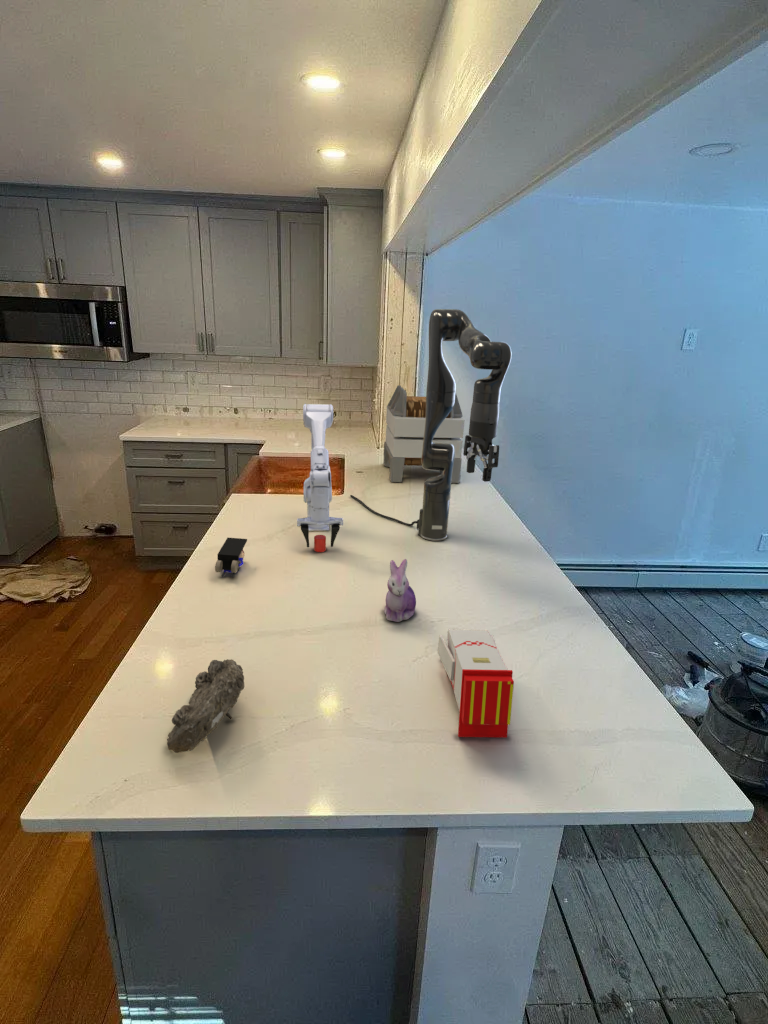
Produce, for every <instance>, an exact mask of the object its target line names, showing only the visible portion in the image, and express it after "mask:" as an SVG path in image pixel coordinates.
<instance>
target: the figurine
mask: <svg viewBox="0 0 768 1024" xmlns="http://www.w3.org/2000/svg"><path fill="white" fill-rule="evenodd" d="M407 567H408V559H406V558H404V559H403V560H402V561H401V563H400V565H399V566H398V565H397V563H396V562H395V561H394V560H393V559H391V560H390V561H389V570H390V576H389V578H388V579H387V589H388V591H387V592H386V594H385V595H386V596H385V607H384V615H385V616H386V620H387V621H391V622H395V623H400V622H402V621H406V620H409V619H410V618H411V617H413V616H414V615H415V610H416V606H417V597H416V593H415V591H414V590H413V587H411V586H410V582H409V579H408V577H407V574H406V571H407Z"/></svg>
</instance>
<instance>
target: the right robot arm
mask: <svg viewBox="0 0 768 1024" xmlns="http://www.w3.org/2000/svg"><path fill="white" fill-rule="evenodd" d="M456 341H458V346H459V348H460V350H461V351H462V352H463V353H464V354H465V355H466V356H468V359H469V362H470V365H471V366H472V367H473V368H474V369H477V370H487V371H488V370H490V371H491V372H490V373H489V375H488V376H486V377H483V378H479V379H476V380H475V381H474V385H473V394H472V404H471V408H470V414H469V416H470V417H469V426H468V434H466V435H465V436H464V437H465V438H464V443H463V451H462V454H463V456H464V457H466V473H468V474H473V473H475V472H476V471H475V469H476V459H477V457H479V459H480V461H481V462H482V464H483V468H482V469H483V470H482V478H481V479H482V481H483V482H484V483H487V482H491V480H492V474H493V473H492V471H493V469H494V468H498V467H499V459H500V457H499V456H500V444H493V439H495V438H496V437H497V435H498V428H499V427H498V425H499V419H500V417H499V416H500V400H501V391H502V390H501V389H502V386H503V383H504V380H505V377H506V374H507V372H508V370H509V367H510V364H511V361H512V357H513V356H512V355H513V353H512V349H511V348H512V347H511V346H510V345H509V344H508V343H507V342H505V341H492V340H491V338H489V336H488V335H486V334H485V333H483V332H482V331H480V330H479V329H478V328H477V327H476V326H475V325H474V323H473V322H472V320H471V319H470V318H469V316H468V315H467V314H466V312H464V311H463V310H461V309H457V308H451V309H450V308H436V309H433V310H432V311H431V313H430V315H429V320H428V368H427V381H426V391H425V392H426V393H425V397H426V417H425V430H424V439H423V447H422V457H421V463H422V466H421V467H422V468H423V470H426V471H435V472H436V471H437V472H440V471H443V473H442V474H441V473H440V474H438V475H436V476H433V477H429V478H427V479H425V480H424V482H423V493H422V496H423V497H422V506H421V508H420V509H419V516H418V519H416V520H413V521H412V522H411V523H408V522H404V521H402V520H399V519H397V518H395V517H391V516H388V515H386V514H385V515H384V514H382V513H379V512H377V511H375V510H373V509H372V508H370V507H369V506H368V505H367V504H366V503H365V502H364V501H362V500H361V499H359V498H358V497H356V496H354V495H352V494H350V496H349V497H350V498H352V499H354V500H355V501H357V502H359V503H360V504H361V505H362V506H363V507H364V508H365V509H367V510H368V511H370V513H372V514H374V515H377V516H379V517H382V518H384V519H387V520H391V521H394V522H397V523H398V524H400V525H405V526H406V527H413V526H414V525H415V524H416V529H417V535H418V536H420V538H421V539H424V540H426V541H432V542H440V541H444V540H446V539H447V538H448V525H449V517H450V516H449V514H450V504H451V494H452V493H451V491H452V483H451V479H452V470H453V464H454V456H455V449H454V446H453V445H452V444H445V443H433V442H432V440H433V437H434V435H435V433H436V431H437V429H438V428H439V426H440V425H441V423H442V422H443V421H444V420H445V418H446V417H447V416H448V414H449V413H450V412H451V410H452V408H453V406H454V403H455V393H456V390H457V385H456V380H455V378H454V376H453V374H452V372H451V371H450V369H449V367H448V365H447V363H446V361H445V357H444V355H443V342H456Z"/></svg>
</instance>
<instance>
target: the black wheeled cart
mask: <svg viewBox="0 0 768 1024" xmlns="http://www.w3.org/2000/svg"><path fill="white" fill-rule="evenodd" d="M247 542H248V538H240V537H226V539H225V541H224V543H223V544H222V546H221V547H220V549H219V551H218V552H217V560H216V562H215V564H214V572H215V573H221V577H222V578H224V577H225V576H226V574H227V573H230V574H231V573H232V574H231V578H234V577H235V575H236V573H237V572H239V571H240V567H242V566H243V565H244V564H245V562H244V558H245V551H244V547H245V546H246V544H247Z"/></svg>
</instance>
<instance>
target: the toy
mask: <svg viewBox="0 0 768 1024" xmlns="http://www.w3.org/2000/svg"><path fill="white" fill-rule="evenodd" d="M446 640H447V643H446V641H445V639H444V636H443V635H442V634H439V637H438V646H437V656H438V657H439V659H440V661H441V663H442V666H443V668H444V670H445V672H446V674H447V677H448V679H449V681H450V684H451V687H452V690H453V693H454V697H455V701H456V705H457V708H458V711H459V714H458V715H459V716H458V730H457V731H458V732H457V737H458V738H508V731H509V726H510V725H511V717H512V707H513V697H514V696H513V695H514V684H515V680H514V679H513V673H514V671H513V670H512V669H508V667H507V665H506V662H505V661H504V659H503V658H502V655H501V653H500V651H499V649H498V647H497V643H496V639H495V637H494V635H493V634H491V632H490V631H489V629H467V628H466V629H465V628H463V629H461V628H460V629H459V628H448V630H447V639H446Z"/></svg>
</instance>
